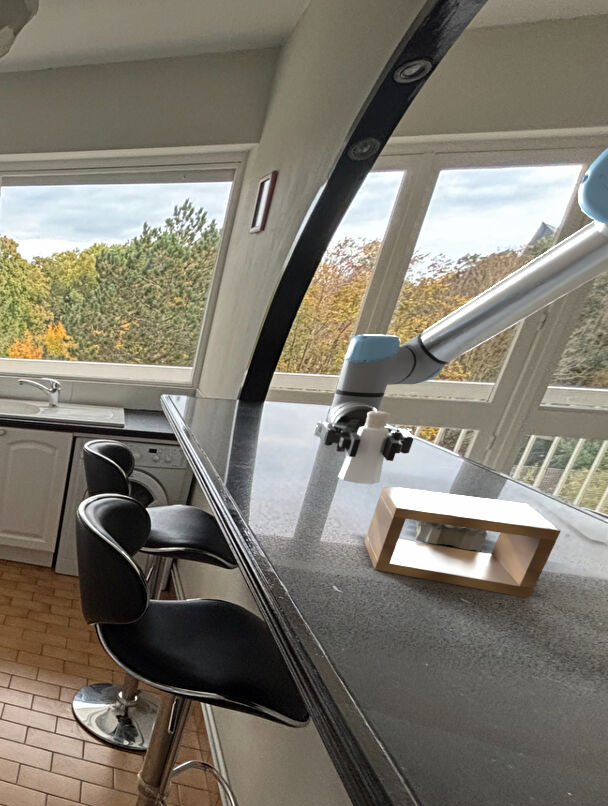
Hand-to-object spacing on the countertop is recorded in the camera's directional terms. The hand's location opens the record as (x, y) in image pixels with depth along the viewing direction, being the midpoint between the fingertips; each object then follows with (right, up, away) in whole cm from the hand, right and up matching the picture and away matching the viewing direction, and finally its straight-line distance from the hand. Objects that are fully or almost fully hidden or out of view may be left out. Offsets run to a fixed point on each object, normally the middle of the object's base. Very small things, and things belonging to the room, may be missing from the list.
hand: (373, 450), depth 90 cm
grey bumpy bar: (+5, -14, -6) cm, 16 cm away
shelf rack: (-5, -17, -16) cm, 24 cm away
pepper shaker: (+3, -4, +7) cm, 8 cm away
